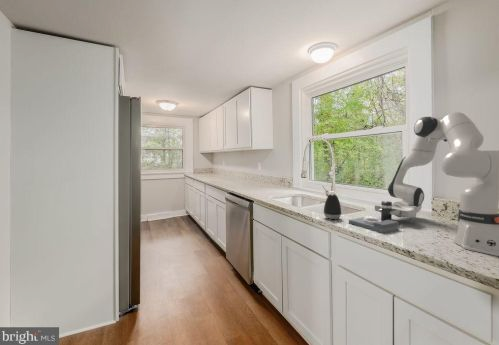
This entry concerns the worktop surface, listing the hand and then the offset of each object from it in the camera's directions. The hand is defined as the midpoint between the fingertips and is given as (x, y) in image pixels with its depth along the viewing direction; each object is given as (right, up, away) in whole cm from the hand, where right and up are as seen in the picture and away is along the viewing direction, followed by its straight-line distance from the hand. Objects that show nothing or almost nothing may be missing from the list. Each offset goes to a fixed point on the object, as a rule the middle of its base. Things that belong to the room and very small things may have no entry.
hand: (385, 211), depth 129 cm
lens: (+1, -7, +1) cm, 7 cm away
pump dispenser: (-25, -6, +12) cm, 29 cm away
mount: (-10, -7, -5) cm, 13 cm away
